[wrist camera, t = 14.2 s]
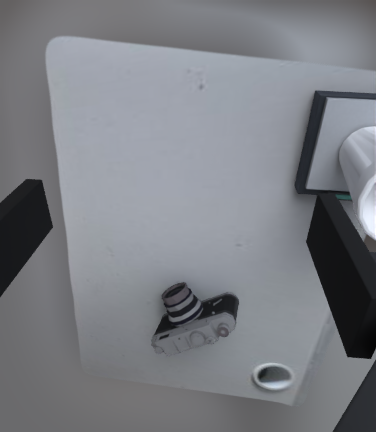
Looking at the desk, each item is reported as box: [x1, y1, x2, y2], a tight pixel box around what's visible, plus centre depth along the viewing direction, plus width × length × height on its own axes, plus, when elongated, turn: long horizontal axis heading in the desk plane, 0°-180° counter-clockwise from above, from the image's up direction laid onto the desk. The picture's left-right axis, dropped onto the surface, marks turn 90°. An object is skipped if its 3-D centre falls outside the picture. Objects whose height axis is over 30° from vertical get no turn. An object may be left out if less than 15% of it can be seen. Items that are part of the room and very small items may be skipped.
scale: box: [295, 91, 376, 201], centre depth 43 cm, size 13×13×4 cm
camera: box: [151, 282, 239, 356], centre depth 58 cm, size 16×9×10 cm, turn 120°
